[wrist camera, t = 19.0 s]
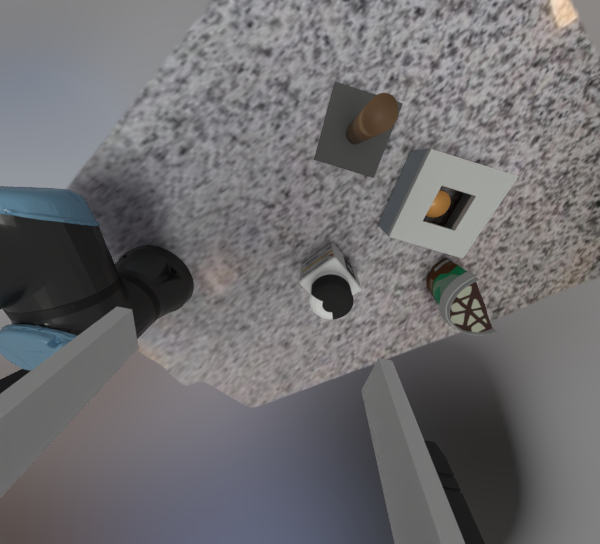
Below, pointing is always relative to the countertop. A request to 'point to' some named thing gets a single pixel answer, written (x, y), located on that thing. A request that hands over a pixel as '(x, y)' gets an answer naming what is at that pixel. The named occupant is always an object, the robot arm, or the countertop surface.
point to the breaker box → (423, 189)
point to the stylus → (373, 119)
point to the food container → (459, 298)
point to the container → (329, 282)
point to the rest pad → (333, 134)
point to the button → (439, 205)
